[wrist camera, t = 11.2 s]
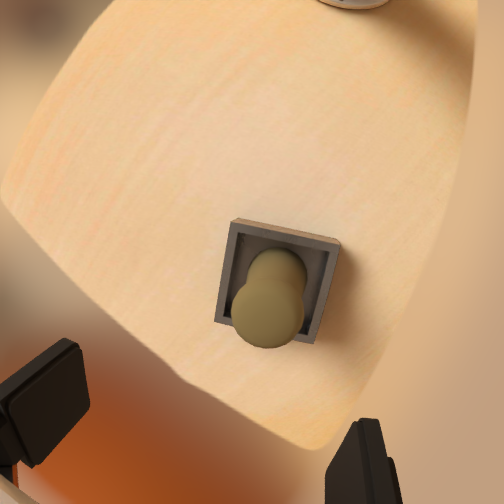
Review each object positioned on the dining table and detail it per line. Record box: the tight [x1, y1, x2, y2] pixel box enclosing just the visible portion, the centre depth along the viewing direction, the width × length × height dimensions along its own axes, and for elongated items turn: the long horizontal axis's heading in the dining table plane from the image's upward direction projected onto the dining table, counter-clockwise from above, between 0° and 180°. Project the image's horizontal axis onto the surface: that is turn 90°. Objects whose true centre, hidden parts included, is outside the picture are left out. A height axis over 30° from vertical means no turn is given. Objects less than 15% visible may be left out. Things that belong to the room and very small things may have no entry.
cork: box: [231, 247, 308, 349], centre depth 26 cm, size 6×6×11 cm
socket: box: [214, 218, 340, 344], centre depth 30 cm, size 10×10×4 cm
